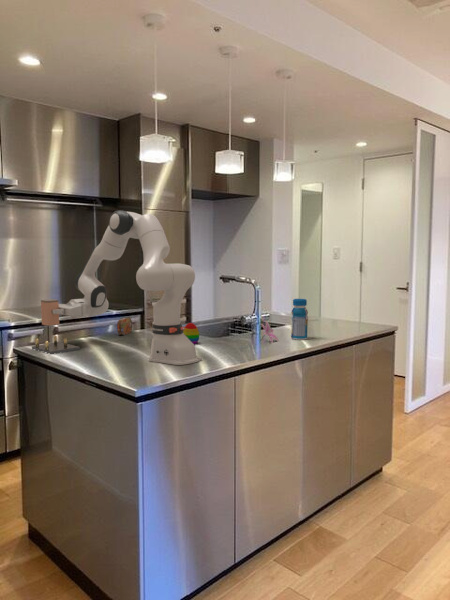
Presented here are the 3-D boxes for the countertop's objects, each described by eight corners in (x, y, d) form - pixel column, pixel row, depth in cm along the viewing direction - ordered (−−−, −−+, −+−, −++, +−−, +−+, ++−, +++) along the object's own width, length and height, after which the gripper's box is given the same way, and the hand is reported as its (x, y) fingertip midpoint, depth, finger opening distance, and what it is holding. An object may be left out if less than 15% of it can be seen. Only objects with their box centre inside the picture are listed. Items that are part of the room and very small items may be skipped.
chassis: (79, 349, 218) (79, 339, 217) (50, 354, 207) (50, 343, 207) (60, 344, 229) (60, 334, 229) (32, 349, 219) (31, 338, 218)
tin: (121, 336, 252) (121, 320, 251) (116, 336, 253) (115, 320, 252) (132, 331, 267) (132, 316, 266) (127, 331, 267) (127, 316, 266)
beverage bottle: (296, 340, 238) (297, 300, 236) (287, 337, 245) (288, 298, 243) (311, 339, 241) (311, 299, 239) (301, 336, 249) (302, 298, 247)
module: (59, 324, 218) (58, 300, 217) (48, 325, 214) (47, 301, 213) (53, 323, 222) (52, 299, 220) (41, 324, 218) (40, 300, 216)
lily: (260, 346, 229) (270, 329, 227) (247, 333, 238) (257, 317, 236) (277, 351, 237) (287, 334, 234) (264, 338, 245) (274, 322, 243)
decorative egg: (179, 344, 230) (178, 323, 229) (188, 341, 237) (187, 321, 236) (193, 345, 226) (193, 324, 225) (202, 342, 233) (202, 322, 232)
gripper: (64, 300, 233) (36, 302, 223) (87, 303, 220) (59, 306, 209) (64, 313, 234) (37, 316, 224) (88, 317, 220) (60, 320, 210)
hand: (48, 311), depth 216 cm, fingers closed on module, 5 cm apart
